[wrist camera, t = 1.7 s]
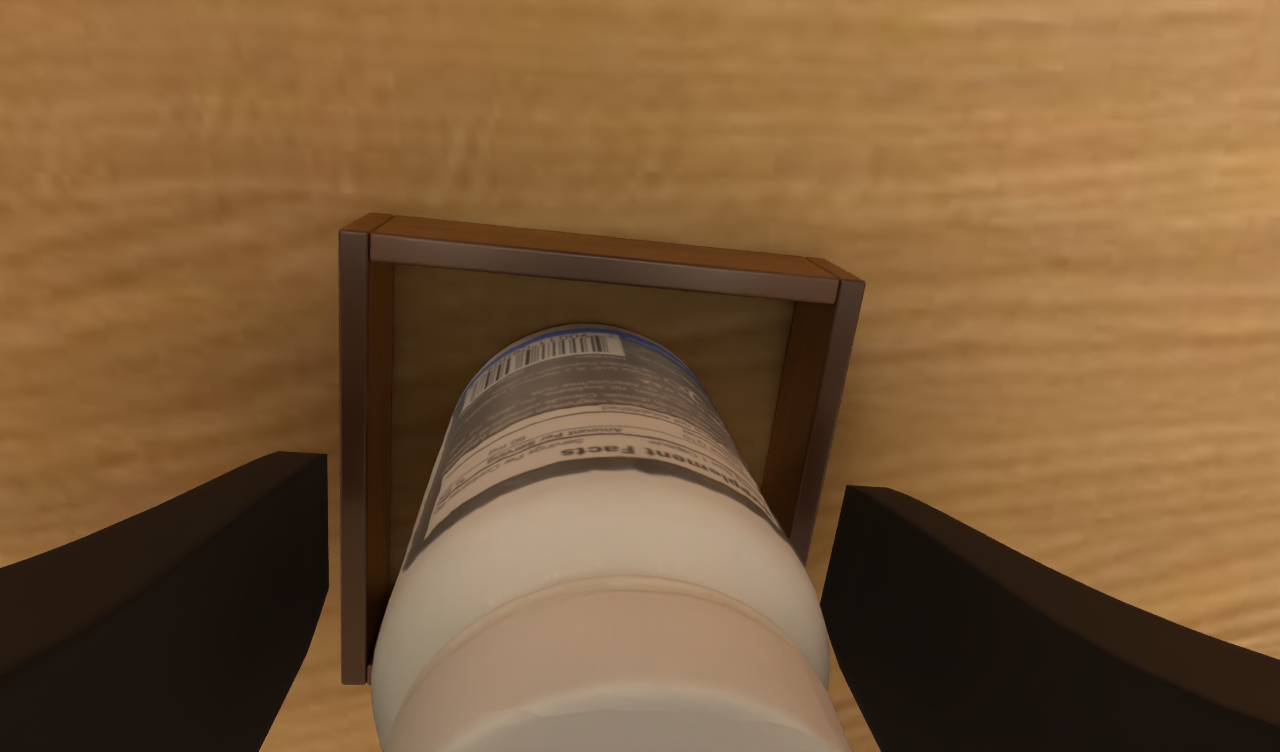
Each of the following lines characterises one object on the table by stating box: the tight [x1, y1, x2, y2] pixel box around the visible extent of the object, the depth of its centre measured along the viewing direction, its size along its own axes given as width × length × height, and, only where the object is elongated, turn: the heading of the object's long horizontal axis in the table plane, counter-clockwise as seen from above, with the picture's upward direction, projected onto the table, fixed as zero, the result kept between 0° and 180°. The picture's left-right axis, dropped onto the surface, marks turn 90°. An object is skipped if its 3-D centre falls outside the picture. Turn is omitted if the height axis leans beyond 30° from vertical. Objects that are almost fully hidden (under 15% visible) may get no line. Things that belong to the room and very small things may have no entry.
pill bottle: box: [371, 324, 852, 752], centre depth 10 cm, size 5×5×8 cm
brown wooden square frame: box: [339, 213, 865, 685], centre depth 13 cm, size 7×7×2 cm
